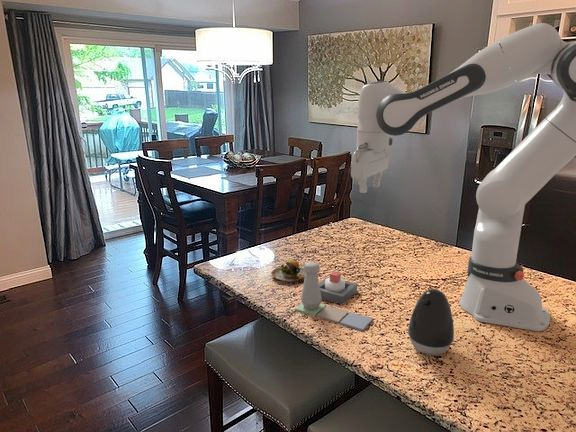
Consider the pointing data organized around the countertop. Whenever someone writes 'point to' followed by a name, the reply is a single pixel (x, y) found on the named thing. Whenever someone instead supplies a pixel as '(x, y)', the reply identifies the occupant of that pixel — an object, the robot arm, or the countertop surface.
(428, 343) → the dark grey egg device
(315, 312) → the track
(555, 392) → the countertop surface
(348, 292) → the button housing
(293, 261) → the bowl of food
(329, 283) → the dome
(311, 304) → the salt shaker
